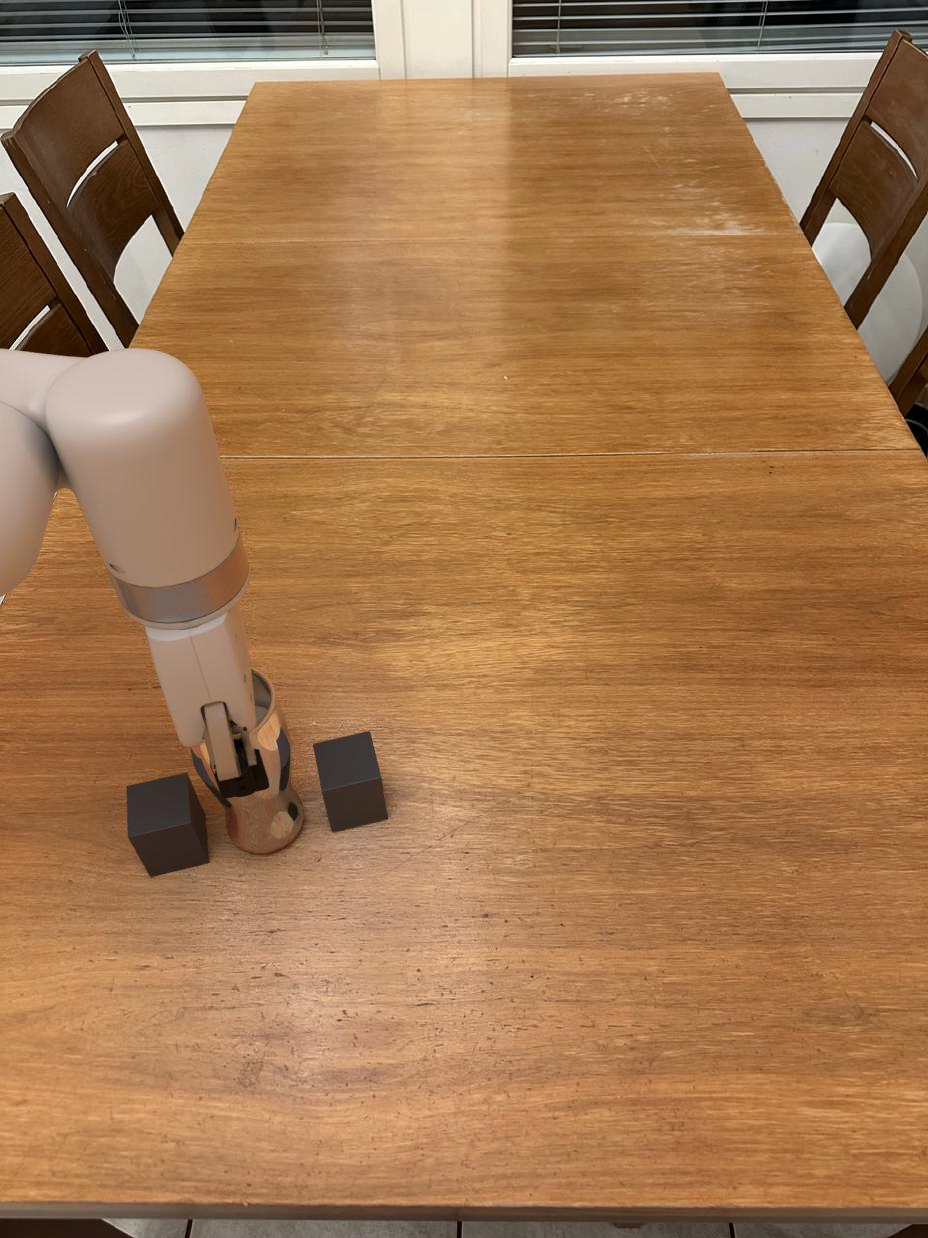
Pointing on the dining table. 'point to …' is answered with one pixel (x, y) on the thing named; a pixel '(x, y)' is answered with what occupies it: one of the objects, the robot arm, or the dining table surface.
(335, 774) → the block right
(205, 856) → the block left
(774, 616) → the dining table surface
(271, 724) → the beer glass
